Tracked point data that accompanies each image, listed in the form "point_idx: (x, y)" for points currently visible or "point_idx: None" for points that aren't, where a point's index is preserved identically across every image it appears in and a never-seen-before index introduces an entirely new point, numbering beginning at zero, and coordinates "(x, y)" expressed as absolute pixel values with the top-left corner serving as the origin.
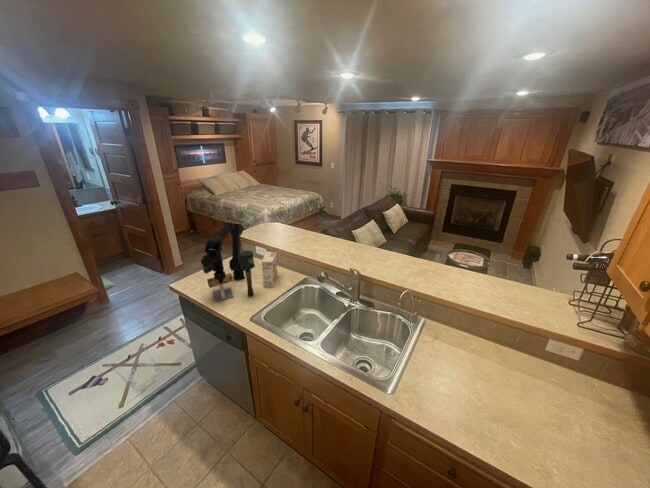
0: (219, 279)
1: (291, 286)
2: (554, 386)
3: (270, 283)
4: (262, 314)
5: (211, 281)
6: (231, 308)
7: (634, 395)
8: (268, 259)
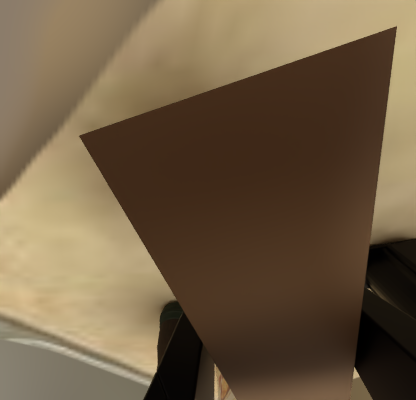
0: (159, 397)
1: None
2: None
3: (221, 384)
4: (24, 341)
5: (140, 232)
6: (59, 239)
7: None
8: None
